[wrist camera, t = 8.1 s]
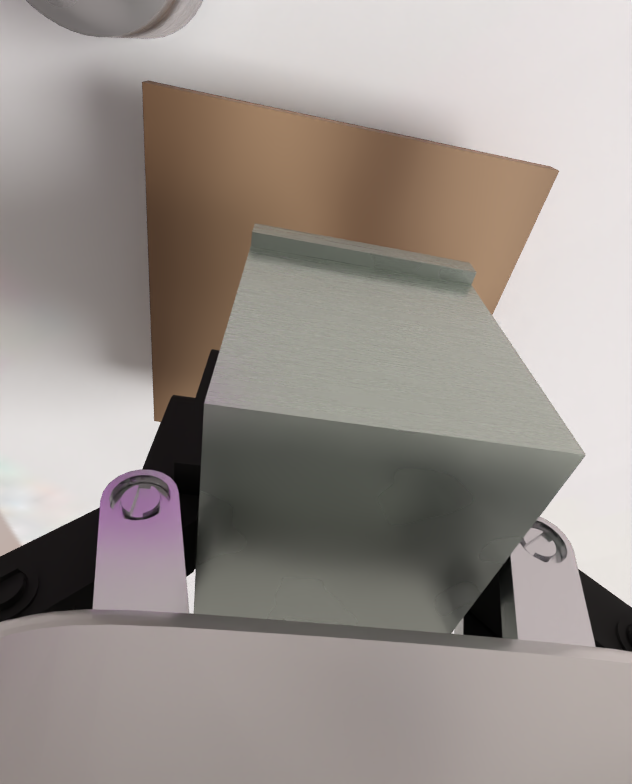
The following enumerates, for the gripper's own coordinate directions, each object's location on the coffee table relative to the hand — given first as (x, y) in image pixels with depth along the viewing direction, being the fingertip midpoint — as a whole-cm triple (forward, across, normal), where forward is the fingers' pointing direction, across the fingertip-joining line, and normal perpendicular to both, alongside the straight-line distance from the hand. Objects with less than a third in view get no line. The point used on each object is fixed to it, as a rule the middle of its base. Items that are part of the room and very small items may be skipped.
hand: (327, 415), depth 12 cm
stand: (+8, 0, 0) cm, 8 cm away
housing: (+1, 0, 0) cm, 1 cm away
